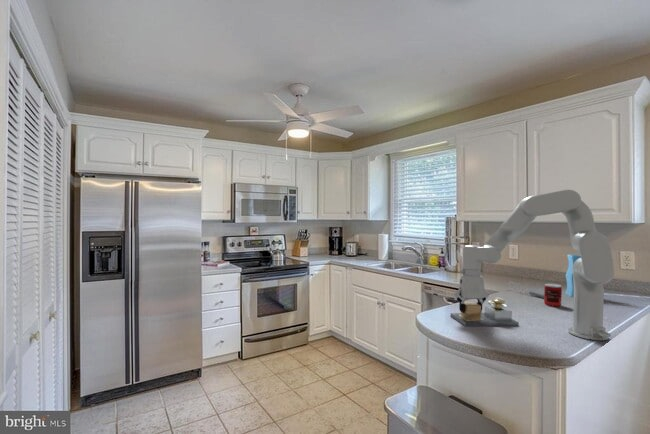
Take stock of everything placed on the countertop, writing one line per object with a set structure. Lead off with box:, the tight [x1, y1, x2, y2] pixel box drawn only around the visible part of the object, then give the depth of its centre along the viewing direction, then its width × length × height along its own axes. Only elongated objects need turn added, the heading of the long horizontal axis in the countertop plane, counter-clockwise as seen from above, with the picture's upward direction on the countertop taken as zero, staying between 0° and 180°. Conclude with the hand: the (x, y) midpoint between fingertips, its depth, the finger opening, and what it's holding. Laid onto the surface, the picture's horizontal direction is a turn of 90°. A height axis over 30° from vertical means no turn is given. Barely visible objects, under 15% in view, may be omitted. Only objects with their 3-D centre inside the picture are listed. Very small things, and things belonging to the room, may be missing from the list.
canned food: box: [543, 283, 563, 308], centre depth 180 cm, size 8×8×11 cm
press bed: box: [450, 305, 520, 327], centre depth 150 cm, size 14×24×6 cm, turn 95°
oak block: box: [460, 301, 481, 319], centre depth 149 cm, size 6×6×6 cm
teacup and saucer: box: [487, 296, 508, 308], centre depth 179 cm, size 9×8×4 cm
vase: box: [565, 254, 581, 298], centre depth 202 cm, size 10×10×25 cm
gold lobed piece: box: [491, 298, 506, 310], centre depth 150 cm, size 5×5×5 cm
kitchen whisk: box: [505, 281, 544, 299], centre depth 203 cm, size 6×33×6 cm, turn 24°
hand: (470, 311), depth 149 cm, fingers open, 7 cm apart
